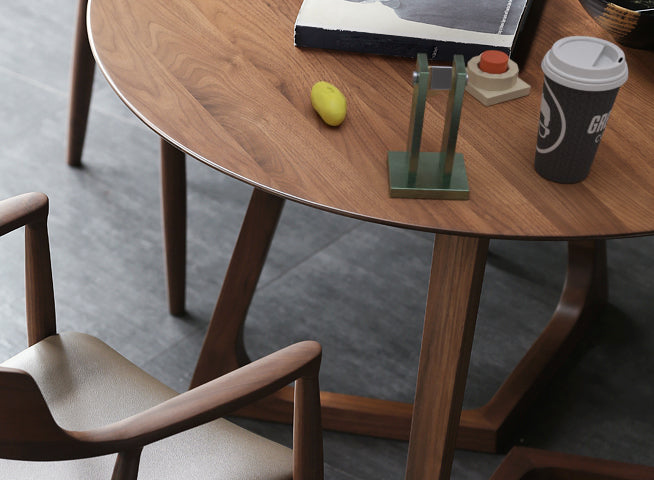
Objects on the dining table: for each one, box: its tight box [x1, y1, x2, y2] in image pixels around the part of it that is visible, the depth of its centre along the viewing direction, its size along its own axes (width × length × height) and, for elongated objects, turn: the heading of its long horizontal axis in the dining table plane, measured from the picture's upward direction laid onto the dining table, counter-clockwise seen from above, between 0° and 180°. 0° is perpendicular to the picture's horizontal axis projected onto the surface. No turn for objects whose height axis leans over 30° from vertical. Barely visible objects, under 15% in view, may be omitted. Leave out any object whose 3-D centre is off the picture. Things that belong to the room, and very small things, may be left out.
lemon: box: [310, 80, 348, 127], centre depth 135 cm, size 4×8×4 cm, turn 12°
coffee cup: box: [533, 35, 629, 185], centre depth 124 cm, size 10×10×15 cm
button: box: [479, 49, 510, 74], centre depth 141 cm, size 4×4×2 cm
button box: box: [464, 54, 532, 107], centre depth 142 cm, size 8×7×3 cm
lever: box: [426, 65, 452, 99], centre depth 122 cm, size 12×4×4 cm, turn 179°
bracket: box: [386, 53, 470, 201], centre depth 121 cm, size 8×9×15 cm
